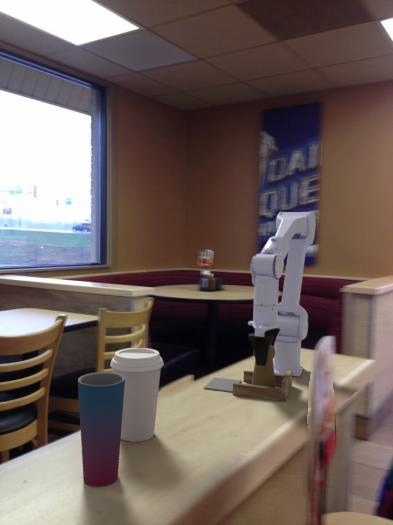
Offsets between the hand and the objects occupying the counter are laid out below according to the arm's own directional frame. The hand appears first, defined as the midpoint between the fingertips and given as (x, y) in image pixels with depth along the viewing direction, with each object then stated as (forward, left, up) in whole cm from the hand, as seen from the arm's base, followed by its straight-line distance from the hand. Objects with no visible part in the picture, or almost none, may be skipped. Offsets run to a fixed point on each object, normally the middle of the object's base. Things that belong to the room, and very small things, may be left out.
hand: (264, 361), depth 112 cm
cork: (0, 0, -7) cm, 7 cm away
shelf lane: (0, 0, -7) cm, 7 cm away
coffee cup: (+34, -17, -7) cm, 39 cm away
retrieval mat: (0, -10, -7) cm, 12 cm away
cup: (+50, -15, -7) cm, 53 cm away
